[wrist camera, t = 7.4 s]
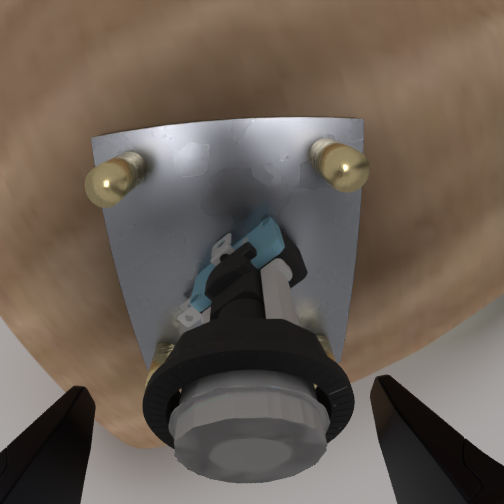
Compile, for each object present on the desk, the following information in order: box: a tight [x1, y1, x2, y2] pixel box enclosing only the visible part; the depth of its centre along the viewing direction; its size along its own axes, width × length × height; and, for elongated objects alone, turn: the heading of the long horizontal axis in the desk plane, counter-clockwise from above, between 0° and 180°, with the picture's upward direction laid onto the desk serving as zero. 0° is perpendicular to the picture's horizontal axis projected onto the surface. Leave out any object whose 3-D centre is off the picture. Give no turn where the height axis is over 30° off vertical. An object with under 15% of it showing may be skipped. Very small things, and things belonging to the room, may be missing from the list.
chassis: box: [85, 116, 369, 390], centre depth 15 cm, size 12×14×4 cm
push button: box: [143, 217, 355, 483], centre depth 11 cm, size 7×5×10 cm
